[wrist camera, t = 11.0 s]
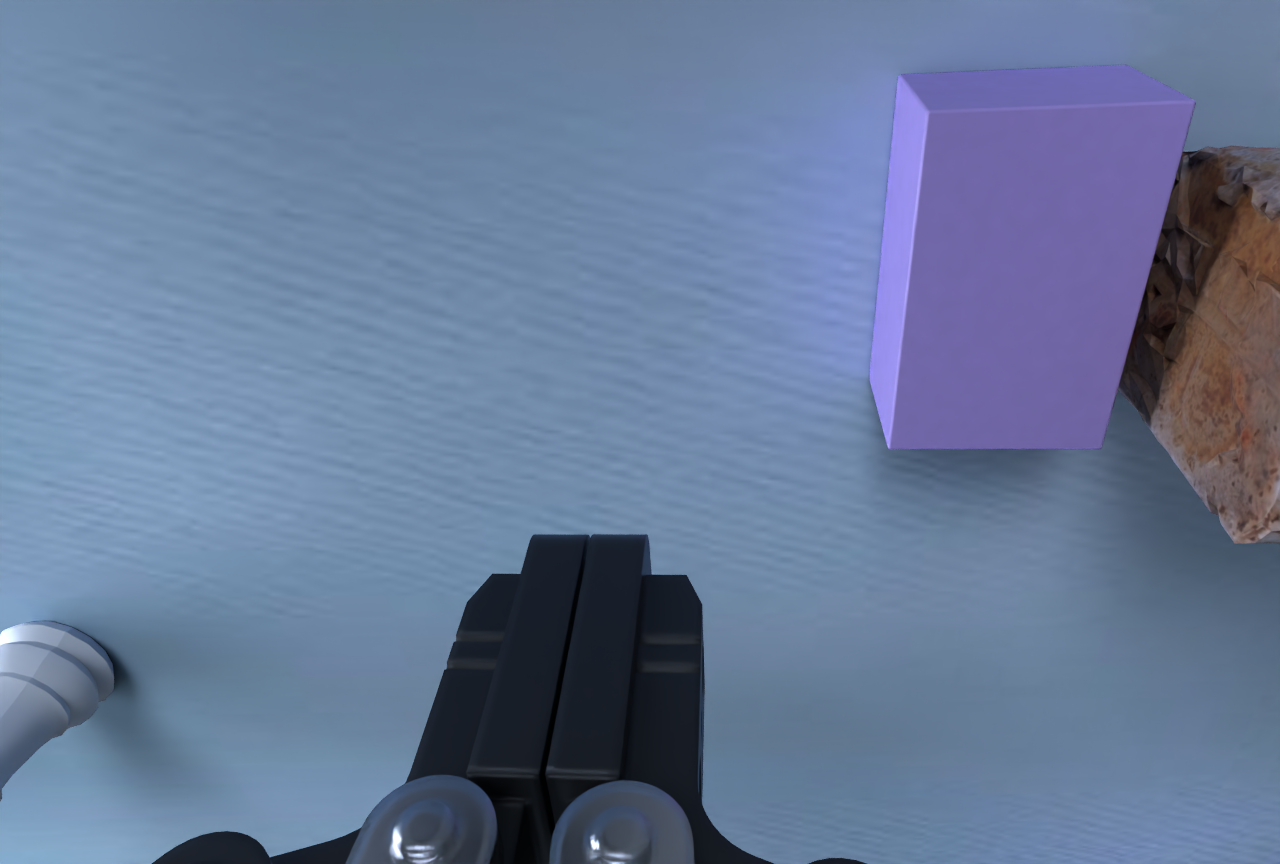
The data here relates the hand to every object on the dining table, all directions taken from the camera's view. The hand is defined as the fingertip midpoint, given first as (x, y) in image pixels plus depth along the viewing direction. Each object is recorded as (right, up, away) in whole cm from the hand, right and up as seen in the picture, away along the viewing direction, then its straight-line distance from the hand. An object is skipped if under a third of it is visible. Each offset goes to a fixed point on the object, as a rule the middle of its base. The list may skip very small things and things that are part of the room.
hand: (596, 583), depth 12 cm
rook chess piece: (-22, -6, +22) cm, 32 cm away
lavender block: (+9, +7, +10) cm, 15 cm away
